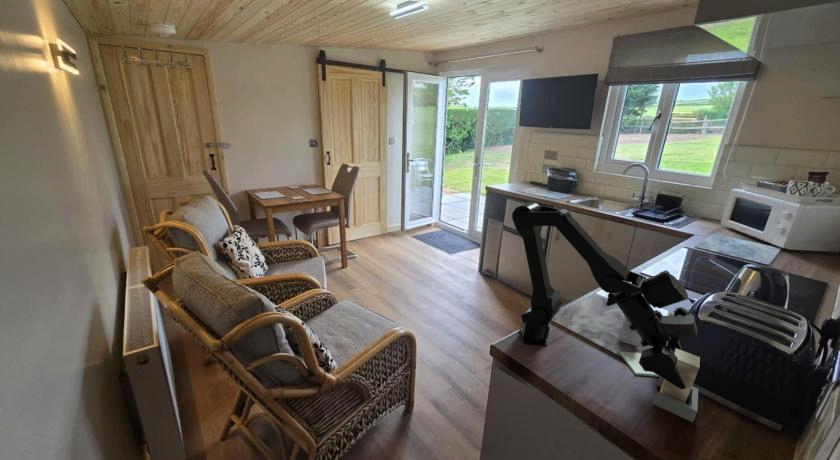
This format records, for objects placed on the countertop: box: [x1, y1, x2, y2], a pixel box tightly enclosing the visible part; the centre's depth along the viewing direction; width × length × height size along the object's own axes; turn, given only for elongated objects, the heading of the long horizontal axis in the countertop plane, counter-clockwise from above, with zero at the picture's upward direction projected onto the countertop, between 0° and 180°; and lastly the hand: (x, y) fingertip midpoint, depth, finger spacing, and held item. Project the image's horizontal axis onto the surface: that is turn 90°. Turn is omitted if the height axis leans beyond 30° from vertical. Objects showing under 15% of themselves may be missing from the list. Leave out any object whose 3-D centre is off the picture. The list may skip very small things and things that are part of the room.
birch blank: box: [659, 348, 701, 404], centre depth 76 cm, size 4×4×12 cm
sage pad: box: [619, 351, 660, 377], centre depth 89 cm, size 8×8×1 cm
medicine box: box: [619, 314, 641, 347], centre depth 99 cm, size 8×4×9 cm, turn 148°
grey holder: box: [653, 376, 699, 423], centre depth 77 cm, size 7×8×3 cm
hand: (684, 376), depth 75 cm, fingers open, 9 cm apart
